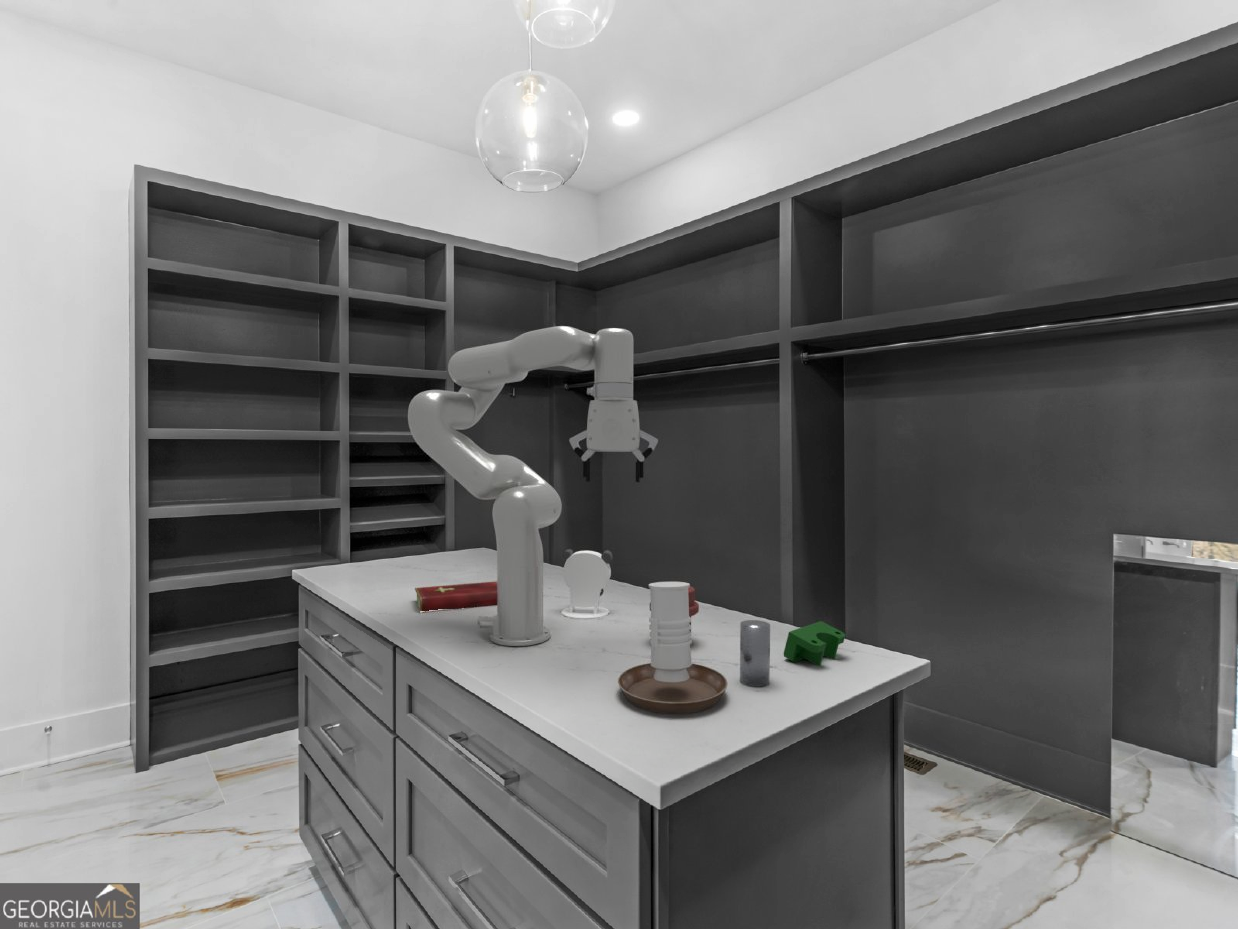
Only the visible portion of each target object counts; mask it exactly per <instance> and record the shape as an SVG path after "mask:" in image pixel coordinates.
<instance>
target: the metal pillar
mask: <svg viewBox="0 0 1238 929" xmlns="http://www.w3.org/2000/svg"><path fill="white" fill-rule="evenodd" d="M739 625H740V627H739V628H740V631H739V632H740V633H739V636H740V639H739V640H740V641H739V642H740V643H739V644H740V646H739V682H740V683H741V684H742V685H743V686H747V687H751V688H763V687H767V686H769V685H770V677H771V676H770V675H771V674H770V673H771V672H770V671H771V670H770V669H771V667H770V666H771V664H770V662H771V660H770V659H771V624H770V623H769V622H767V621H763V620H756V619H747V620H743V621H741V622H740V624H739ZM768 684H769V685H768Z"/></svg>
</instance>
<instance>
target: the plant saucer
mask: <svg viewBox="0 0 1238 929" xmlns="http://www.w3.org/2000/svg"><path fill="white" fill-rule="evenodd" d="M656 669H657V668H654V667H652V666H651V662H647V663H643V664H639V665H635V666H633V667H630V668H628V669H627V670H625V671H623V672H622V673H621V674H620V675H619V677H618V679H617V684H618V686H619V688H620V690H621V691H622V693H623V695H624V696H626V698H627V699H628V700H629V701H630V702H631V703H632V704H633V705H635V706H637V707H639V708H641V709H643V710H647V711H649V712H655V713H662V714H672V715H673V714H674V715H680V714H692V713H698V712H701V711H704V710H706V709H707V710H708V709H709V708H710V707H712V706H713V705H715V704H716V703H717V702H718V700H720V699H721V698H722V696H723V695H724V693H725V692H726V689H727V688H728V680H727V678H726V677H725V675H723V674H722V673H721V672H719V671H718V670H716V669H713V668H712V667H709V666H705V665H702V664H697V663H693V662H692V665H691V666H690V667H689V668H686V670H687V672H688V674H689V677H690V678H689V679H688V680H685V681H681V682H662V681H658V680H655V679H654V674H655V671H656Z"/></svg>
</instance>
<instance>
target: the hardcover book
mask: <svg viewBox="0 0 1238 929" xmlns="http://www.w3.org/2000/svg"><path fill="white" fill-rule="evenodd" d="M414 590H415V593H416V603H417V602H418V603H417V605H418V604H419V606H420V608H419V612H420V611H429V610H438V609H454V610H462V608H464V609H474V607H475V608H485V607H496V606H497V580H496V581H494V580H493V581H483V582H471V583H459V584H446V585H435V586H423V587H420V586H419V587H414ZM419 606H418V607H419Z"/></svg>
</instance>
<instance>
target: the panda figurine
mask: <svg viewBox="0 0 1238 929" xmlns="http://www.w3.org/2000/svg"><path fill="white" fill-rule="evenodd" d="M562 558H563V560H566V561H565V563H564V566H563V569H562V575H563V576H562V577H563V580H564V582H565V584H566V586H567V587H568V588H569V592H570V594H569V596H570V597H569V599H570V600H569V607H566V608H564V609H562V611H561V616H563V617H565V616H566V617H565V618H568V617H569V618H568V619H572V618H573V619H572V620H596V619H595V618H598V619H601V618H600V617H602V616H605V617H607V616H609V614H608V613H610V610H609V609H607V608H606V607H602V606H600V599H601V596H602V595H603V594H604V588H605V586H606V585H607V584H608V582H609V580H610V578H611V576H612V570H611V565H610V563H611V561H612V560H613V558H614V556H613V552H612V551H610V550H608V549H607V550H604V552H603V553H601V552H597V551H594V550H579V551H575V552H574V550H573V549H571V548H569V549H566V550H565V551H564V552H563V553H562ZM606 615H607V616H606ZM602 618H603V617H602Z"/></svg>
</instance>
